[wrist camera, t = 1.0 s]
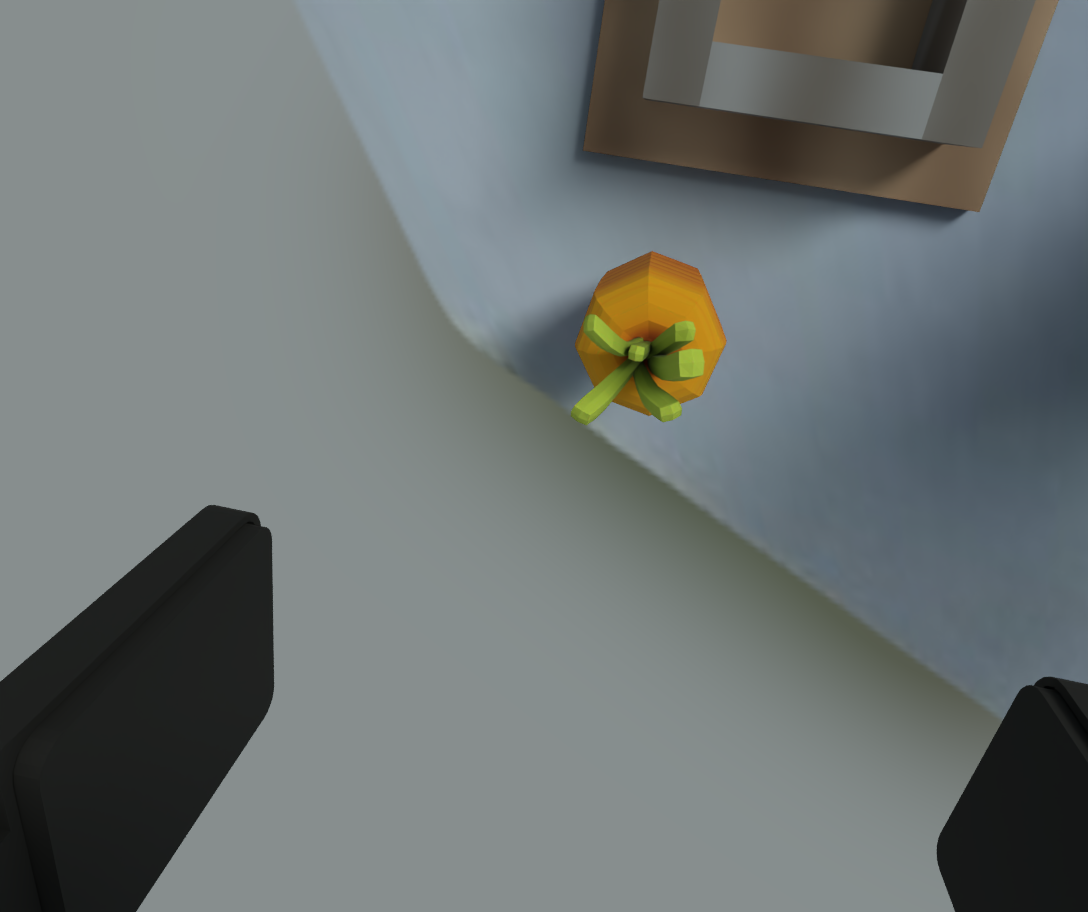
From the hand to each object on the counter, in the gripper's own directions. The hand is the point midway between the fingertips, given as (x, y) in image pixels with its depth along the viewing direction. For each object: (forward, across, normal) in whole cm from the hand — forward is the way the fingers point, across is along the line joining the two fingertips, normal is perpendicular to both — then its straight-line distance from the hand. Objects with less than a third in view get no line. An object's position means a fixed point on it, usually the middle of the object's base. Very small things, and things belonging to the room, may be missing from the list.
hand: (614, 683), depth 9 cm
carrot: (+27, 0, 0) cm, 27 cm away
